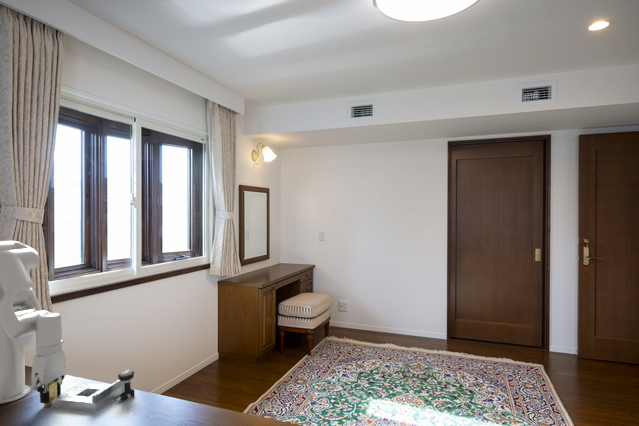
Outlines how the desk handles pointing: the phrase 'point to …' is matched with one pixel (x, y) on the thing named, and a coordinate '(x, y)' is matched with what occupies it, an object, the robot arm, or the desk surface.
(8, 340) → the robot arm
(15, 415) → the desk surface
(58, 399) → the jig
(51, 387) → the gold domed cylinder
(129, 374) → the push button
